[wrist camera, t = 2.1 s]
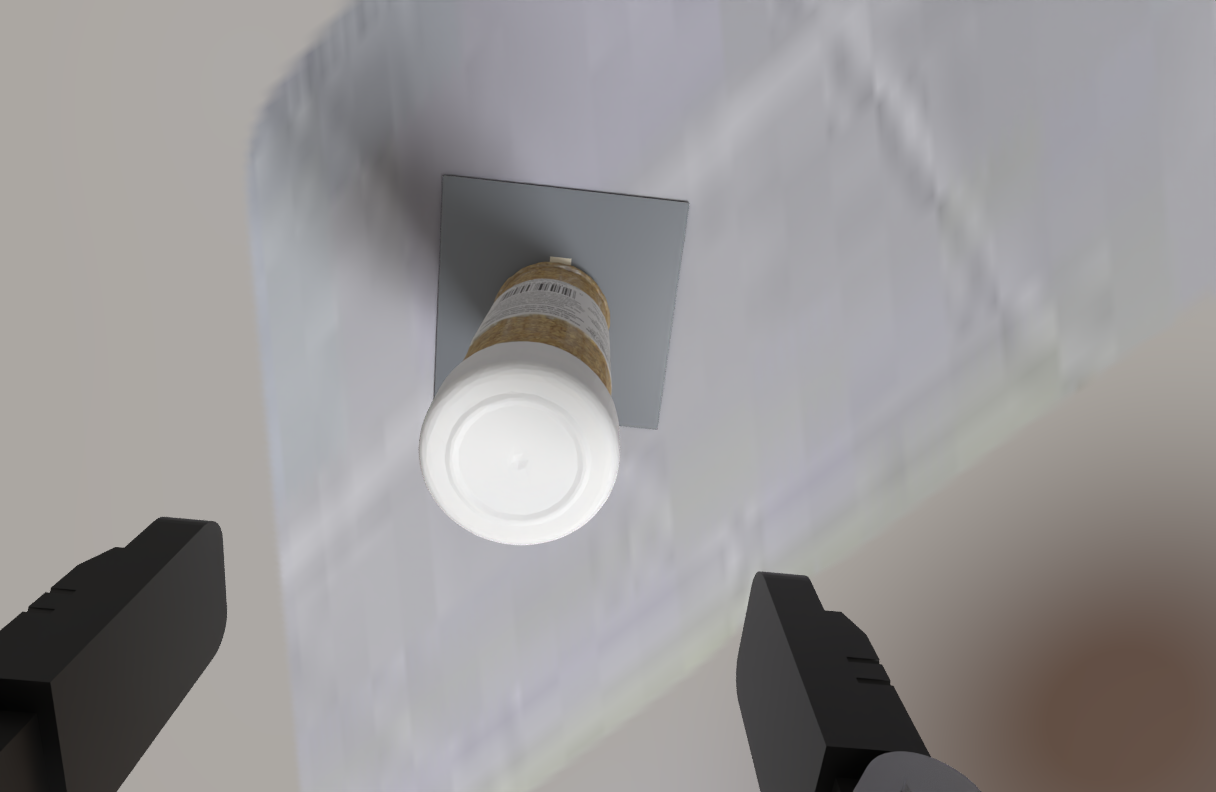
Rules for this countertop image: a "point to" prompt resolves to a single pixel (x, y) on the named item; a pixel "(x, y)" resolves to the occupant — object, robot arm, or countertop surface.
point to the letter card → (573, 235)
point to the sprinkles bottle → (528, 413)
